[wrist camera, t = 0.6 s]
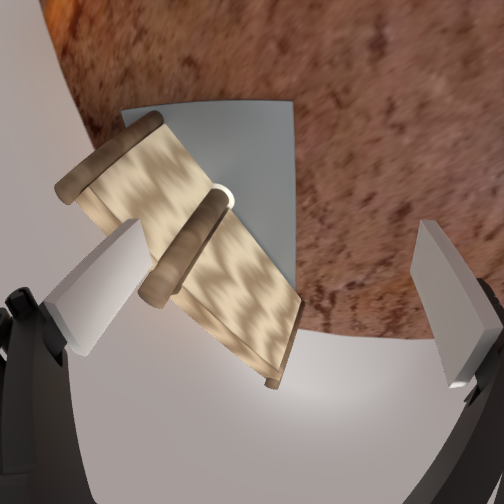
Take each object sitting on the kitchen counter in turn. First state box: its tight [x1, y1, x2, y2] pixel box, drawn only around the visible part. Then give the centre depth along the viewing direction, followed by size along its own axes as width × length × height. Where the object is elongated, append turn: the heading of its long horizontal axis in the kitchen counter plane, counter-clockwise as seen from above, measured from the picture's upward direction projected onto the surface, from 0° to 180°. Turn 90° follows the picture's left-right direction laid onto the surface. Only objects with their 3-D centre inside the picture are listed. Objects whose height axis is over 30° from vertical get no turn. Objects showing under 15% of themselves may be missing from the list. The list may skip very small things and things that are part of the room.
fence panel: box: [169, 208, 305, 389], centre depth 38 cm, size 21×2×15 cm, turn 36°
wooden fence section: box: [54, 110, 229, 309], centre depth 29 cm, size 16×3×16 cm, turn 36°
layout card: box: [121, 99, 296, 291], centre depth 41 cm, size 35×22×1 cm, turn 6°
